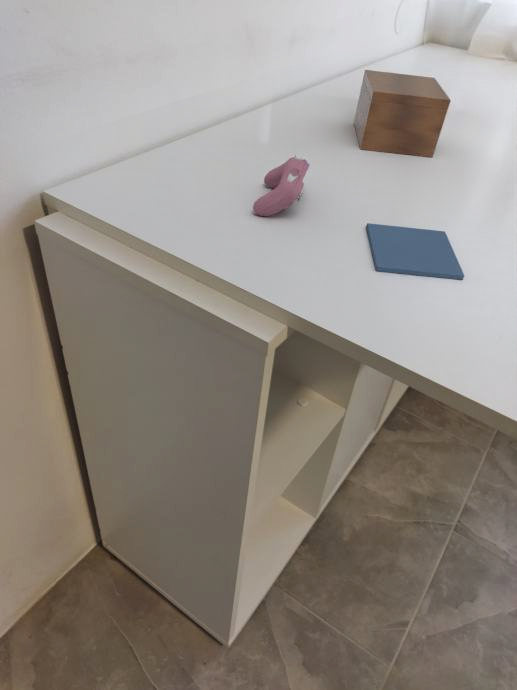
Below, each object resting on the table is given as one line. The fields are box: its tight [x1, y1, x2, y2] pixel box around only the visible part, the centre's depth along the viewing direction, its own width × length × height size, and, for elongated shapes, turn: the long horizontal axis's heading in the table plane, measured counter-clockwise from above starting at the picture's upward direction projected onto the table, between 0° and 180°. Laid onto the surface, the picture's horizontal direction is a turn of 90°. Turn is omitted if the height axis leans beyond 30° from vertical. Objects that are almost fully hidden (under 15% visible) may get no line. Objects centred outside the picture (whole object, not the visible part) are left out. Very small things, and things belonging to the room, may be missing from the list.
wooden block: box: [353, 69, 452, 158], centre depth 89 cm, size 12×12×9 cm
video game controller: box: [252, 154, 310, 217], centre depth 69 cm, size 10×5×7 cm, turn 170°
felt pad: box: [365, 222, 465, 281], centre depth 64 cm, size 10×10×1 cm
